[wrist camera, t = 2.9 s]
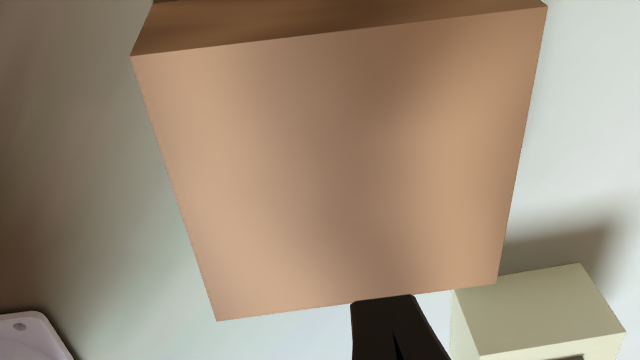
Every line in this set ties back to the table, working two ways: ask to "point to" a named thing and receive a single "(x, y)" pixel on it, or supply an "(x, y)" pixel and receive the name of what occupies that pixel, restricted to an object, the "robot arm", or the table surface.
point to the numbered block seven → (534, 318)
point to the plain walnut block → (340, 141)
